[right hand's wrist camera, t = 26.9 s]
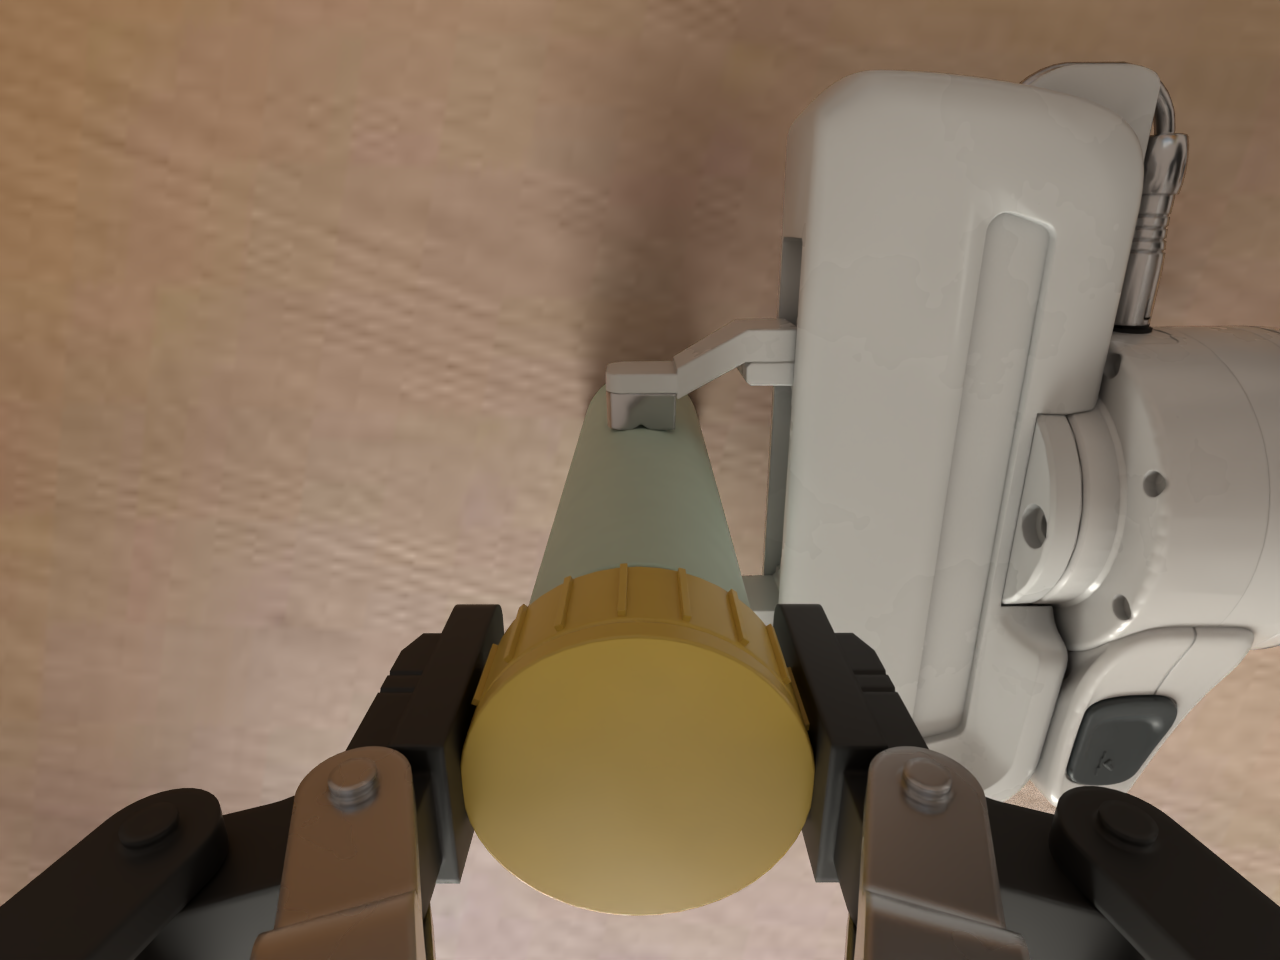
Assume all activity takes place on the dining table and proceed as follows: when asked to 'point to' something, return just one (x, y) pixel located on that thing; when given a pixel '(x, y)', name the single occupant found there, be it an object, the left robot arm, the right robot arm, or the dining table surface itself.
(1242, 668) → the dining table surface
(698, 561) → the jar
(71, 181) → the dining table surface
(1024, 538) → the left robot arm
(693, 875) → the lid
